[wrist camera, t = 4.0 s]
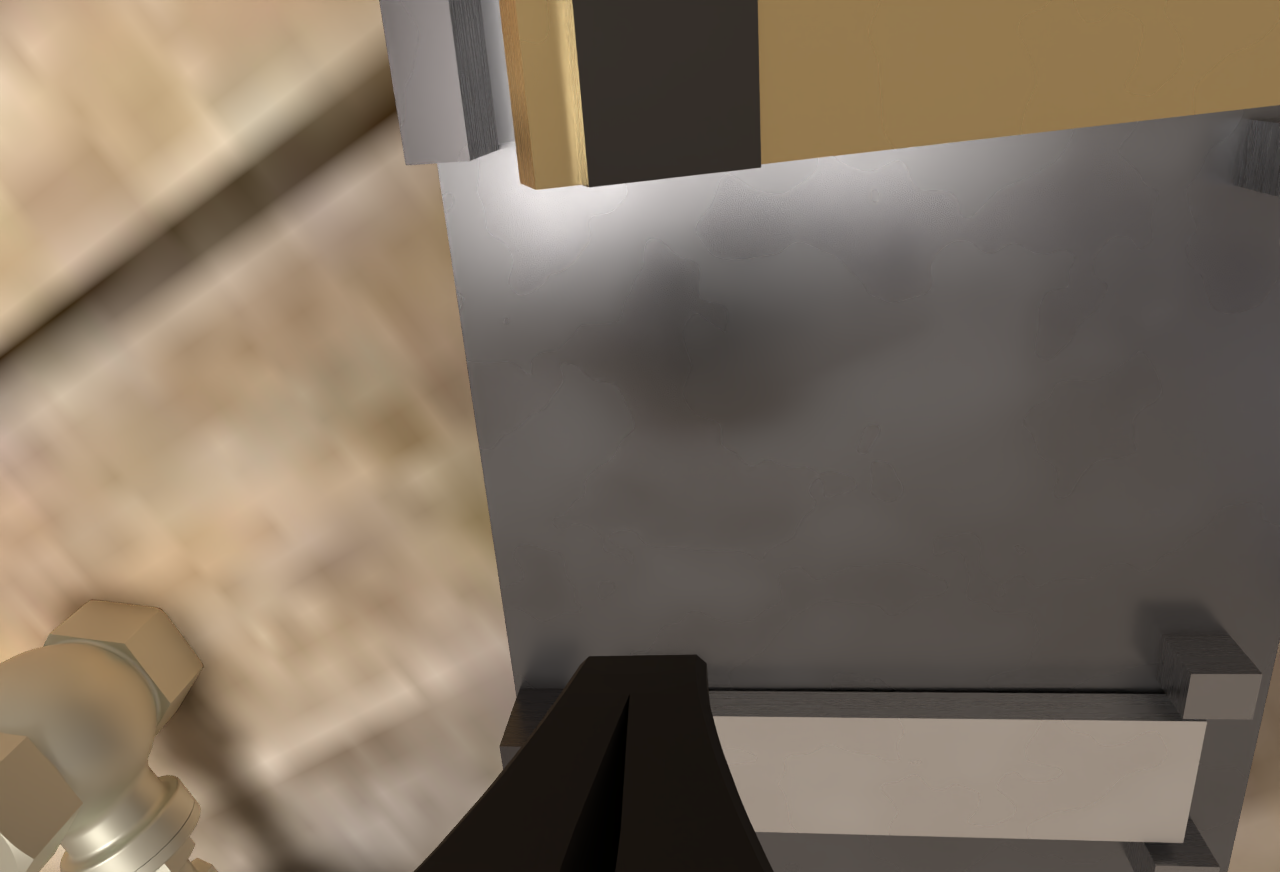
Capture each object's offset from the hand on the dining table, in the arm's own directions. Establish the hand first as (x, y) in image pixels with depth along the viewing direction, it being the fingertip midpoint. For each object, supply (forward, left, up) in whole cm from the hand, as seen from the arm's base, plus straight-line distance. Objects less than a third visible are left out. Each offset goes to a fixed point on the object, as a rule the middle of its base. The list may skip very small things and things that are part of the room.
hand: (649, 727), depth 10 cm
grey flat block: (-4, 0, -10) cm, 11 cm away
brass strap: (-4, -7, -5) cm, 10 cm away
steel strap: (-4, +7, -7) cm, 11 cm away
